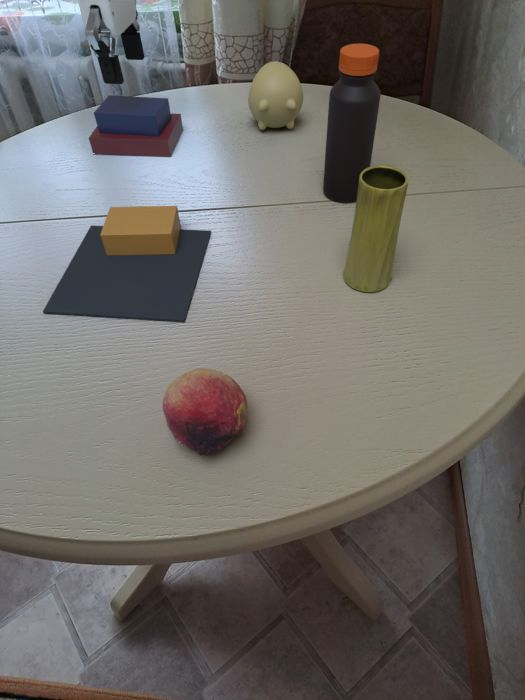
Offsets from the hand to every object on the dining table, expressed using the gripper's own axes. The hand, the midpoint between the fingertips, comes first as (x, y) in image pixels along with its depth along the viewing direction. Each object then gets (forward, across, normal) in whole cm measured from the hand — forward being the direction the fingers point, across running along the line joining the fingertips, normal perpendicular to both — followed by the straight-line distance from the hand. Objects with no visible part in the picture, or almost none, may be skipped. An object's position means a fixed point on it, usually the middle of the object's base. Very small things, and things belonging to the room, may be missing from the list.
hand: (125, 70), depth 82 cm
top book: (+12, +28, +11) cm, 33 cm away
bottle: (+12, +12, +38) cm, 41 cm away
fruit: (+12, +57, +28) cm, 65 cm away
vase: (+12, +31, +42) cm, 54 cm away
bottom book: (+12, 0, 0) cm, 12 cm away
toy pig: (+12, -9, +23) cm, 28 cm away
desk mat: (+12, +34, +11) cm, 38 cm away
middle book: (+9, 0, 0) cm, 9 cm away
